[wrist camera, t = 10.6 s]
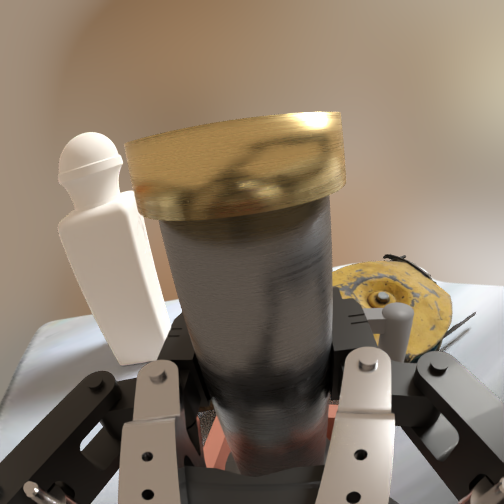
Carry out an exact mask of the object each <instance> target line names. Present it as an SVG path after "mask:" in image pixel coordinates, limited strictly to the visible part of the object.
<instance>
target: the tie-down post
mask: <svg viewBox="0 0 504 504" xmlns="http://www.w3.org/2000/svg"><path fill="white" fill-rule="evenodd" d="M124 146H125V152H126V157H127V162H128V167H129V172H130V177H131V182H132V187H133V191H134V196H135V200H136V205H137V209H138V212H139V214H140V215H142V216H143V217H146V218H149V219H155V220H159V224H160V228H161V233H162V237H163V241H164V245H165V249H166V253H167V257H168V261H169V265H170V269H171V273H172V276H173V279H174V284H175V287H176V291H177V295H178V298H179V302H180V305H181V309H182V312H183V315H184V319H185V322H186V325H187V329H188V332H189V335H190V338H191V342H192V345H193V348H194V351H195V354H196V357H197V360H198V363H199V366H200V369H201V372H202V375H203V378H204V381H205V384H206V387H207V390H208V392H209V395H210V398H211V401H212V404H213V406H214V409H215V412H216V414H217V417H218V420H219V422H220V425H221V428H222V430H223V433H224V435H225V438H226V440H227V443H228V445H229V448H230V450H231V452H230V453H229V456H228V458H227V461H226V464H225V471H229V472H232V473H236V474H241V475H245V476H249V477H259V476H263V475H268V474H272V473H276V472H280V471H284V470H287V469H291V468H294V467H307V466H317V465H325V464H326V459H327V455H328V450H329V446H330V440H329V439H328V438H327V425H328V413H329V398H330V378H331V355H332V315H333V285H332V242H331V217H330V200H329V195H330V194H333V193H335V192H336V191H338V190H340V189H341V188H342V187H344V186H345V184H346V170H345V156H344V144H343V132H342V122H341V113H340V112H310V113H294V114H293V113H292V114H280V115H269V116H260V117H251V118H243V119H236V120H229V121H223V122H216V123H210V124H204V125H199V126H194V127H188V128H184V129H179V130H174V131H169V132H165V133H161V134H157V135H152V136H149V137H145V138H141V139H138V140H134V141H131V142H127V143H125V144H124Z"/></svg>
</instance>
